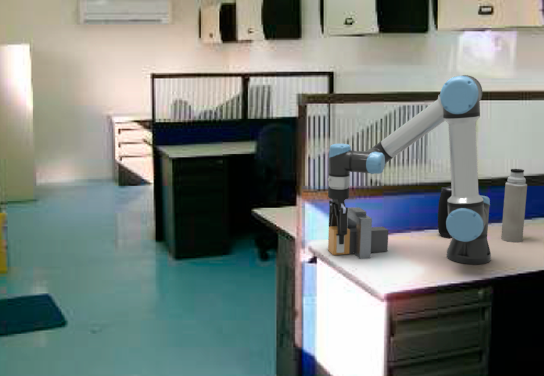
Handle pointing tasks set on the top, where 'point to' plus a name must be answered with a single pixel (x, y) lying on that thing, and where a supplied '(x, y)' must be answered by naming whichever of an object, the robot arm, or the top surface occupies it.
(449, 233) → the robot arm
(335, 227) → the grey and orange block
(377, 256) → the top surface
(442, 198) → the portable speaker
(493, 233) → the top surface
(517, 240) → the thermos bottle
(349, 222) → the housing
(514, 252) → the top surface
